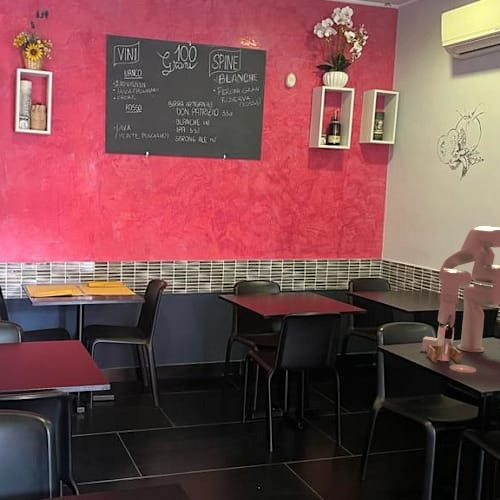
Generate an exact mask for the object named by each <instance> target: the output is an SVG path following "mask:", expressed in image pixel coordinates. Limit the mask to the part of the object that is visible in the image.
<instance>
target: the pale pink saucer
mask: <svg viewBox="0 0 500 500" xmlns="http://www.w3.org/2000/svg"><path fill="white" fill-rule="evenodd" d="M448 368H449V370H451V371H453V372H458V373H463V374H474V373H476V372H477V369H476V368H475V367H474V366H470V365H465V364H451V365H449V366H448Z"/></svg>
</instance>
